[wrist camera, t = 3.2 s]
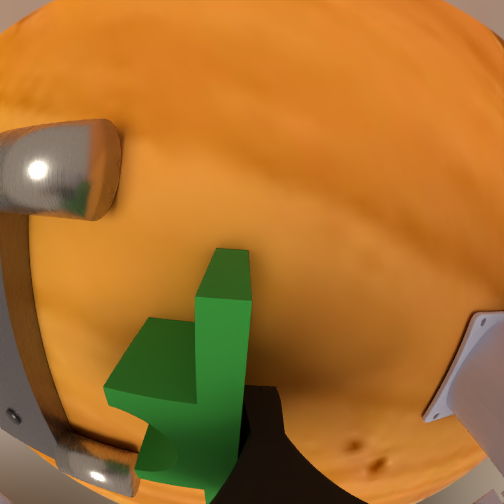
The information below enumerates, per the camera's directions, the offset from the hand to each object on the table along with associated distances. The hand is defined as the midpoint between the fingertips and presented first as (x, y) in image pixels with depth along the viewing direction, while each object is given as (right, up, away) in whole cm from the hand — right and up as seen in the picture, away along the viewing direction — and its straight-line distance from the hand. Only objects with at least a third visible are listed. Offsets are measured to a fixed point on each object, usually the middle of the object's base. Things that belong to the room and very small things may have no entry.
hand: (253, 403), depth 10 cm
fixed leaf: (-11, +2, 0) cm, 11 cm away
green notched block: (-2, +1, +1) cm, 3 cm away
